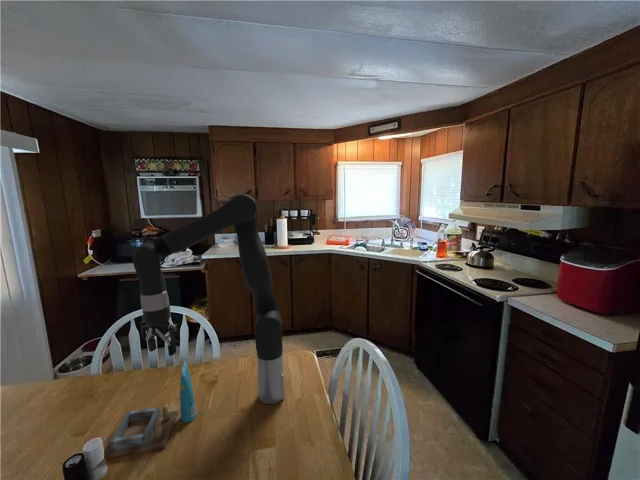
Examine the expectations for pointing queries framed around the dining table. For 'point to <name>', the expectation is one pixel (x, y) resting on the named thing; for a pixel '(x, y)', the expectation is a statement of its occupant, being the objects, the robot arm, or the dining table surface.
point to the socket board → (142, 432)
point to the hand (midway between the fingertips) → (162, 352)
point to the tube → (186, 396)
